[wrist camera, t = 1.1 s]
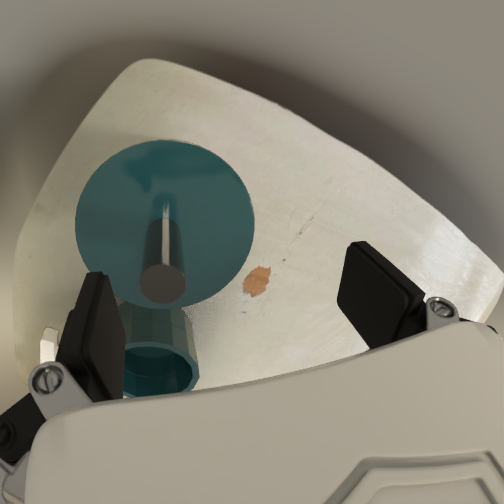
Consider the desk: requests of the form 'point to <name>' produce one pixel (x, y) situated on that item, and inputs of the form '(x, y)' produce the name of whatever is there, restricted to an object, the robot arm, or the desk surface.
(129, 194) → the lid
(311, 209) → the desk surface
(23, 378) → the desk surface
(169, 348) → the pot
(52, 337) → the slotted bracket
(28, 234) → the desk surface
